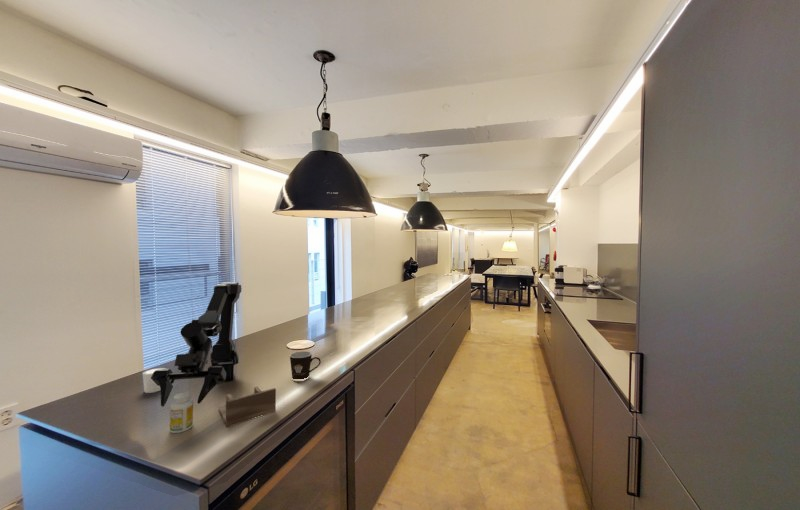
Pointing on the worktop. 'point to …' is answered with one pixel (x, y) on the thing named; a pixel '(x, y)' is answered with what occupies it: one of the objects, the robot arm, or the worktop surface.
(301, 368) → the coffee mug
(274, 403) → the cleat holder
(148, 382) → the white cup
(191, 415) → the supplement bottle
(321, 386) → the worktop surface
